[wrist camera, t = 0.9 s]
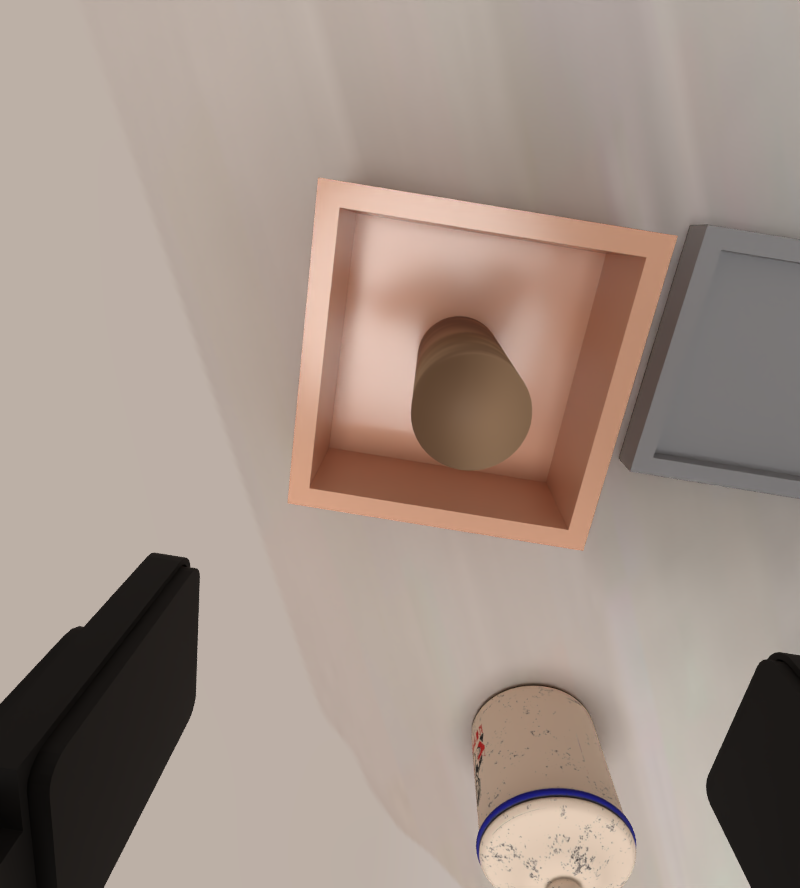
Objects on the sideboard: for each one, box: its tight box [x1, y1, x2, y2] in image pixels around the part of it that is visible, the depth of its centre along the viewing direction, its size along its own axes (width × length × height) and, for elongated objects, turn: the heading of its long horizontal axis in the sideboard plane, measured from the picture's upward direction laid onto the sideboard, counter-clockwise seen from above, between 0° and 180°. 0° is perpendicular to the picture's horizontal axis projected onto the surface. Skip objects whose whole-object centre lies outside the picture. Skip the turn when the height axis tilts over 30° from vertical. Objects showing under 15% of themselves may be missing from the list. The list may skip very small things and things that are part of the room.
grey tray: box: [619, 225, 800, 499], centre depth 31 cm, size 13×13×2 cm
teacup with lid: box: [471, 686, 636, 888], centre depth 36 cm, size 12×9×12 cm
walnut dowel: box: [411, 316, 532, 471], centre depth 26 cm, size 4×4×11 cm
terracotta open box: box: [288, 178, 678, 551], centre depth 29 cm, size 15×15×6 cm
